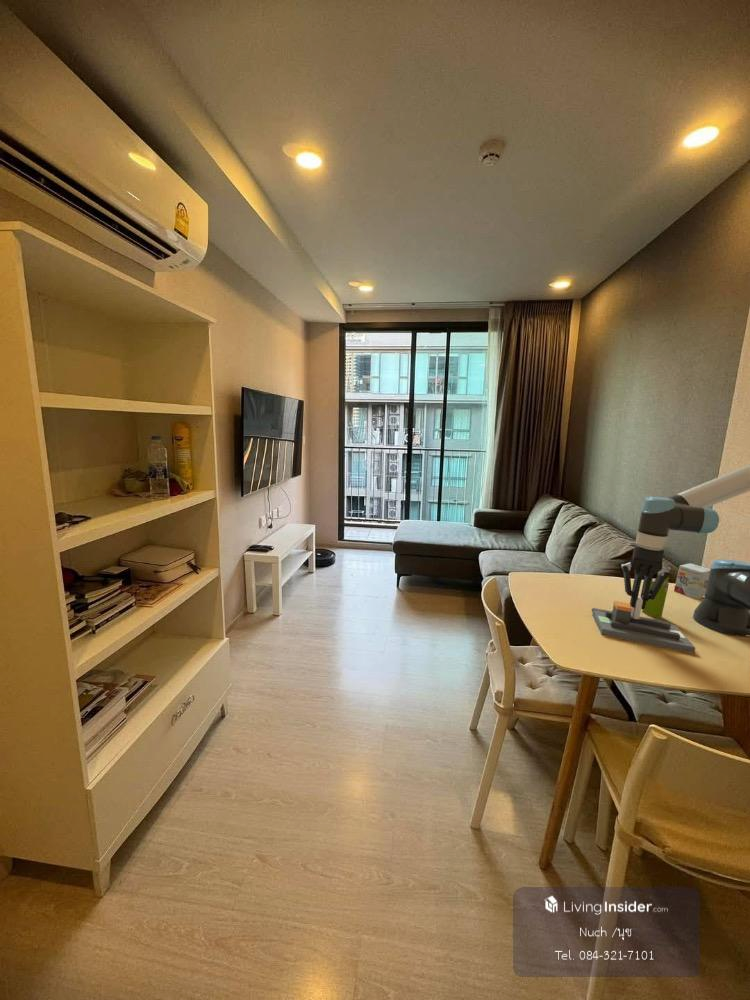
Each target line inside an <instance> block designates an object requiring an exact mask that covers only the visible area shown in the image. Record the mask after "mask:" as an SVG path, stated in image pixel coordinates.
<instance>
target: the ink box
mask: <svg viewBox="0 0 750 1000" xmlns="http://www.w3.org/2000/svg"><path fill="white" fill-rule="evenodd" d="M709 575H710V568H708V567H707V568H706V567H703V566H701V565H697V564H694V563H685V564H681V565H679V568H678V572H677V576H676V580H675V585H674V589H673V592H676V593H678V594H681V595H684V596H685V597H689V598H692V599H695V600H700V599H702V598H703V596H705V593H706V588H707V584H708V579H709ZM703 599H704V598H703Z"/></svg>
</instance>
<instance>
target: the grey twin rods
mask: <svg viewBox="0 0 750 1000" xmlns="http://www.w3.org/2000/svg"><path fill="white" fill-rule="evenodd" d="M593 610H597V611H602V612H605V611H610V612H612V611H613V610H607V609H602V608H596V607H592V608H591V612H592V613H593ZM631 616H632V615H631ZM641 617H642V618H647V619H653V620H658V621H663V622H668V621H666V620H660V619H657V618H656V619H655V618H652V617H651V618H649V617H646V616H645V617H644V616H641Z"/></svg>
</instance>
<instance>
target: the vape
mask: <svg viewBox="0 0 750 1000" xmlns="http://www.w3.org/2000/svg"><path fill="white" fill-rule="evenodd" d="M662 566H663V569H664V570H667V571H668V572H669V573H670V574H671V570H672V568H671V567H670V562H669V561H662ZM658 575H659V572H658V573H657V576H658ZM669 579H670V576H669V577H667V578H666V579H665V581H664V582H663V584H662V586H661V588H660V590H659V591H658V593H657V595H656V597H655V599H653V600H652V599H648V601H646V605H645V609H641V613H643V614H645V615H647V616H650V617H651V618H653V619H655V618H656V619H662V616H663V613H664V612H663V611H664V607H665V603H666V598H667V593H668V590H669ZM655 580H656V578H653V579H652V581H651V585H650V589H651V587H652V585H653V583H654V582H655ZM649 591H650V590H649Z"/></svg>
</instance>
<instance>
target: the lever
mask: <svg viewBox="0 0 750 1000" xmlns="http://www.w3.org/2000/svg"><path fill="white" fill-rule="evenodd" d="M632 610H633V607H631V606H630V602H626V601H625V602H623V601H618V600H613V607H612V610H611V611H612V616H611V619H612V620H613V621H619V622H624V623H629V622H630V617H631V612H632Z"/></svg>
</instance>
